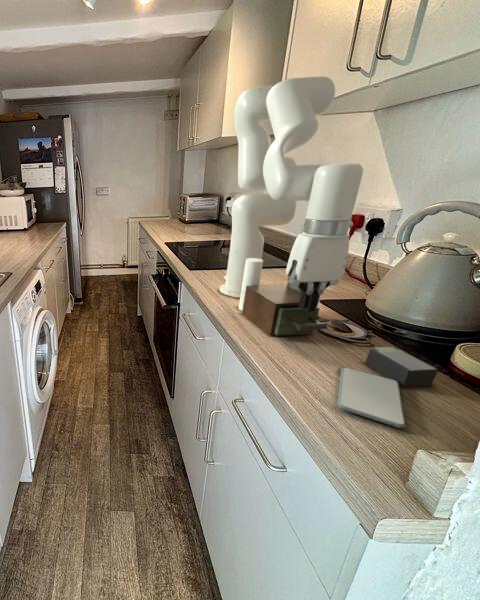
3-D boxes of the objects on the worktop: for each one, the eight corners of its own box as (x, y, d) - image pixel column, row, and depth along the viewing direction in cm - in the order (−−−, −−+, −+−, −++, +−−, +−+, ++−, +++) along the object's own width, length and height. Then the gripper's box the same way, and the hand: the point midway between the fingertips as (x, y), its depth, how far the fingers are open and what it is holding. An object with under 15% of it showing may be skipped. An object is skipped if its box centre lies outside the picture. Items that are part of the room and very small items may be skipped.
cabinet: (309, 333, 79) (317, 301, 75) (269, 335, 78) (276, 303, 75) (276, 312, 91) (282, 283, 88) (241, 313, 91) (246, 285, 88)
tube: (240, 311, 93) (248, 261, 87) (237, 305, 97) (244, 257, 91) (256, 312, 92) (265, 261, 86) (252, 306, 96) (260, 258, 90)
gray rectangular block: (402, 387, 58) (409, 370, 57) (364, 363, 66) (369, 347, 64) (431, 385, 58) (439, 368, 57) (390, 362, 66) (396, 346, 65)
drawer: (328, 343, 72) (336, 316, 70) (290, 345, 72) (296, 318, 69) (281, 313, 88) (285, 290, 86) (249, 314, 88) (253, 291, 86)
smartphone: (398, 380, 59) (406, 426, 48) (397, 385, 59) (404, 431, 48) (341, 365, 64) (337, 404, 53) (340, 370, 64) (336, 409, 54)
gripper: (345, 224, 69) (326, 301, 76) (278, 227, 69) (264, 305, 76) (377, 228, 62) (352, 314, 69) (302, 232, 62) (284, 317, 69)
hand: (306, 309), depth 72 cm, fingers closed
